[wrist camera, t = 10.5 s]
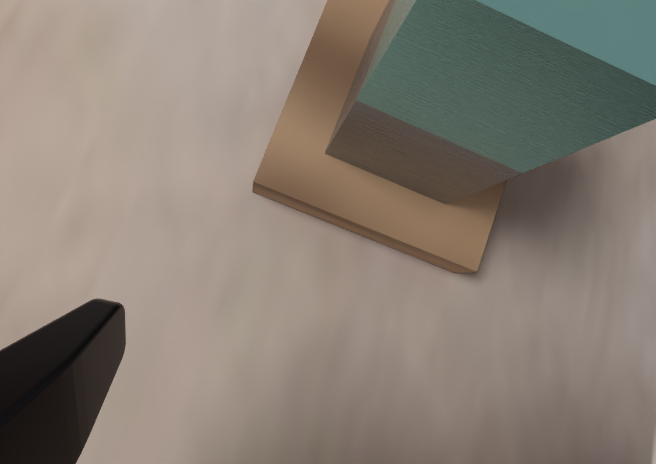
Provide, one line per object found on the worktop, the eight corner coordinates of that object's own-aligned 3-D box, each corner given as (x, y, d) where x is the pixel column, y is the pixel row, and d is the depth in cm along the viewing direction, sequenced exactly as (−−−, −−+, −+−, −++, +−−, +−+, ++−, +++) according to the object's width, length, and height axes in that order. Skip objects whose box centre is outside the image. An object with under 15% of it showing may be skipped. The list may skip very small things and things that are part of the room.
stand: (455, 273, 22) (476, 271, 20) (252, 191, 20) (253, 181, 19) (518, 83, 23) (544, 63, 21) (331, -2, 22) (340, -31, 20)
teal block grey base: (445, 204, 20) (692, 103, 9) (324, 153, 19) (429, -22, 8) (486, 89, 20) (758, -135, 10) (370, 36, 20) (521, -263, 9)
